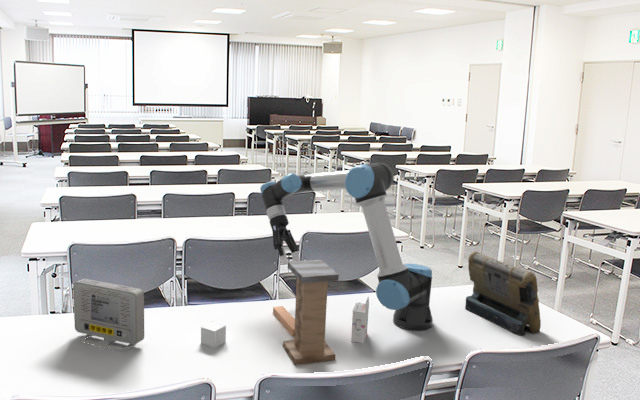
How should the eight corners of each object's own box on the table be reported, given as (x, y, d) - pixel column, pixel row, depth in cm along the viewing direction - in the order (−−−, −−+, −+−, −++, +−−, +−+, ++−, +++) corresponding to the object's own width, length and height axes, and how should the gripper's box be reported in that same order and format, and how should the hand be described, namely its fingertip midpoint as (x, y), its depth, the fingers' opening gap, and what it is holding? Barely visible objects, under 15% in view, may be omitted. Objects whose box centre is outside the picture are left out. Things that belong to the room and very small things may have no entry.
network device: (148, 343, 193) (148, 287, 189) (132, 354, 185) (131, 295, 181) (87, 329, 201) (85, 276, 197) (69, 339, 193) (66, 283, 189)
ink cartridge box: (353, 332, 210) (356, 294, 207) (367, 333, 209) (369, 295, 206) (350, 341, 202) (352, 302, 199) (364, 343, 201) (366, 304, 198)
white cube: (214, 347, 192) (214, 331, 191) (200, 343, 195) (200, 327, 194) (225, 341, 197) (225, 325, 196) (212, 337, 200) (212, 321, 199)
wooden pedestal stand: (282, 345, 196) (285, 262, 191) (319, 340, 201) (324, 259, 196) (295, 366, 182) (299, 277, 176) (336, 361, 187) (341, 274, 181)
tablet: (546, 331, 220) (554, 269, 215) (524, 338, 212) (532, 274, 207) (479, 303, 246) (485, 247, 241) (457, 309, 238) (463, 251, 233)
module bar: (272, 314, 224) (273, 307, 223) (282, 313, 225) (282, 305, 225) (292, 337, 204) (292, 329, 204) (302, 335, 206) (302, 328, 205)
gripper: (282, 225, 249) (296, 271, 242) (256, 215, 226) (270, 265, 220) (297, 219, 247) (311, 265, 241) (272, 208, 224) (287, 258, 218)
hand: (292, 265), depth 230 cm, fingers open, 13 cm apart
